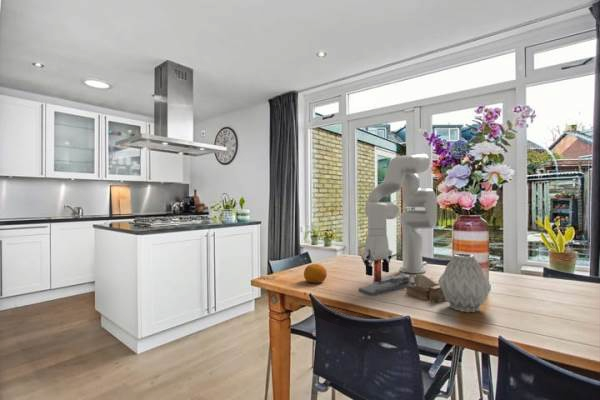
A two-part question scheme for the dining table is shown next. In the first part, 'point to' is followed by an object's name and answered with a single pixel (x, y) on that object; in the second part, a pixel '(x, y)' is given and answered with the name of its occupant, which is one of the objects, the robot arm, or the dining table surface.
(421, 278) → the stone
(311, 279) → the fruit
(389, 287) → the flat grey bar
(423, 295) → the cradle
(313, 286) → the dining table surface
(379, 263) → the lever
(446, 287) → the vase
